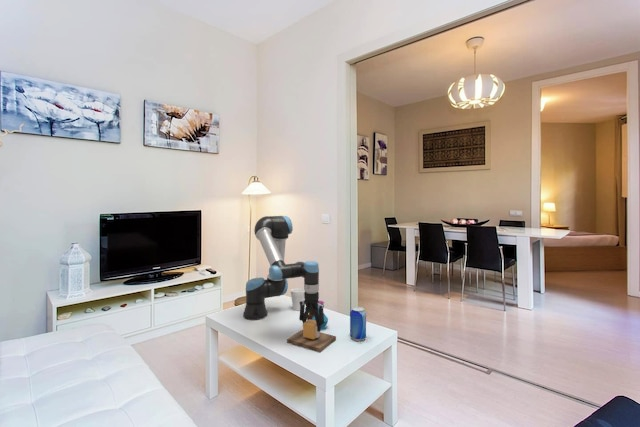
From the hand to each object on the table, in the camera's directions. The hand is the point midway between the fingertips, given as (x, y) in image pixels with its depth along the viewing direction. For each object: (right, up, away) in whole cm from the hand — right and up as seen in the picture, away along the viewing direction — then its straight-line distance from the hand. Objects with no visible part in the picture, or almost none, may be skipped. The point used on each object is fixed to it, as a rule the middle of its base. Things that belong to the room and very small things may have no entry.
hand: (311, 335), depth 161 cm
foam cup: (-11, -2, +49) cm, 50 cm away
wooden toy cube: (0, 0, 0) cm, 0 cm away
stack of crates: (+1, -3, +32) cm, 32 cm away
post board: (0, -3, 0) cm, 3 cm away
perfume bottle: (+4, -3, +19) cm, 19 cm away
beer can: (+25, -3, +4) cm, 25 cm away
